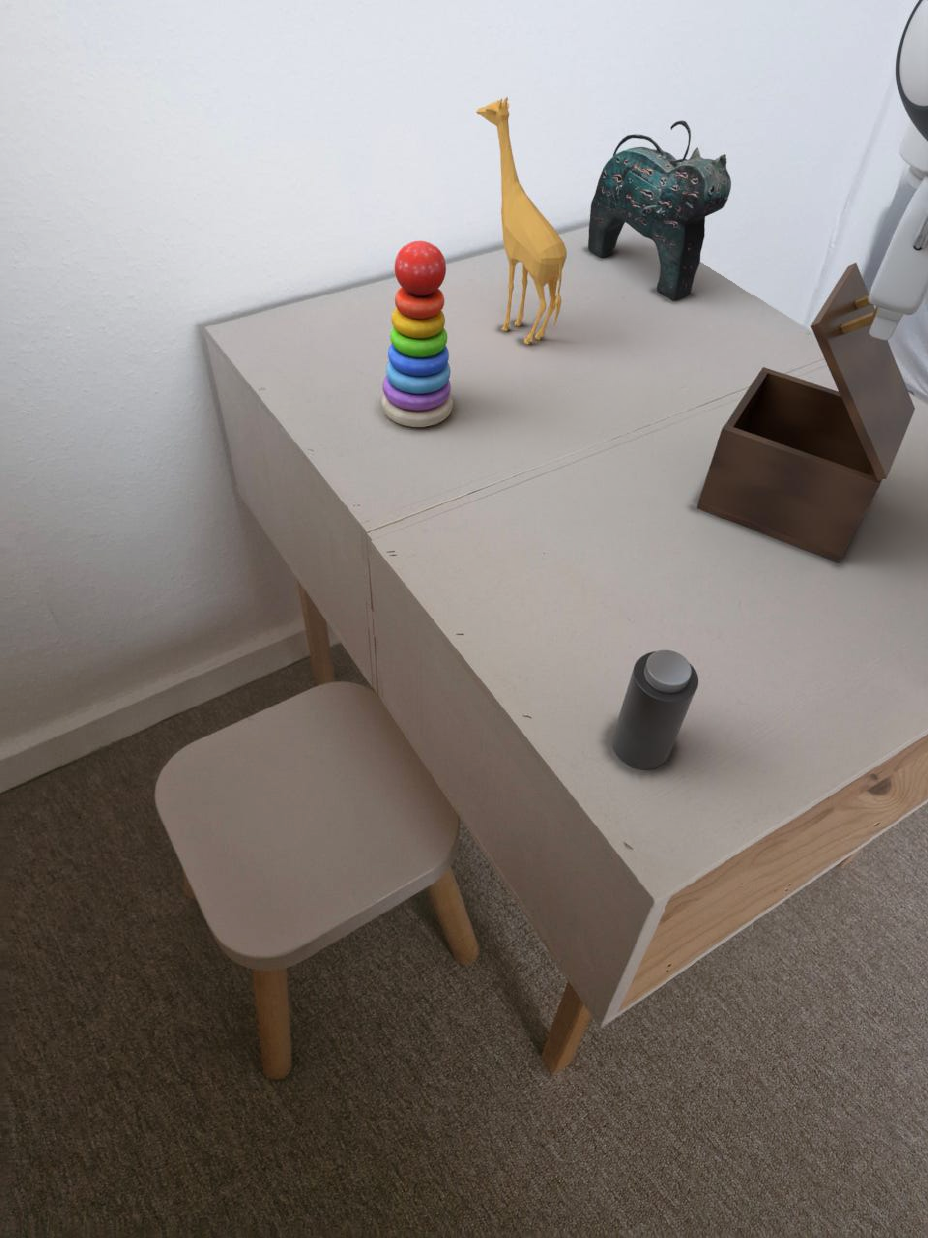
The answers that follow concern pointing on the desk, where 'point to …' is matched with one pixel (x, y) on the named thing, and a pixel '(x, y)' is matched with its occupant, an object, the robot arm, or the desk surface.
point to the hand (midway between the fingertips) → (889, 315)
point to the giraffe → (525, 231)
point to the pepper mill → (654, 708)
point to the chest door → (864, 370)
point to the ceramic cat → (659, 206)
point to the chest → (791, 466)
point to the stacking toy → (418, 341)
